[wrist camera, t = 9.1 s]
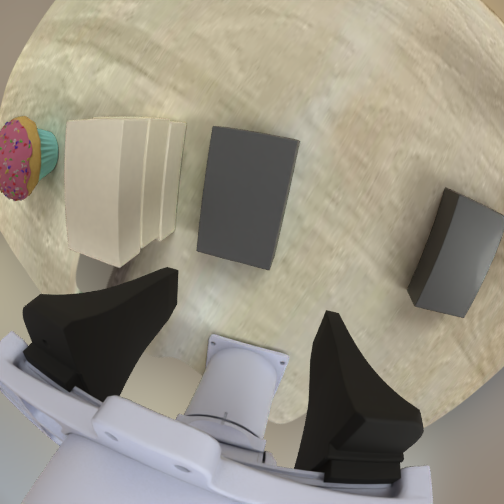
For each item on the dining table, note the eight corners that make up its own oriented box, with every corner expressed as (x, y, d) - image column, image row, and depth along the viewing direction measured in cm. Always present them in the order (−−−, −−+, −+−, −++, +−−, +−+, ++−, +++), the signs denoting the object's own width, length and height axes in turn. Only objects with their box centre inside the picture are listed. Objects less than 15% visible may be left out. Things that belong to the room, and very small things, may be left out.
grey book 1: (274, 256, 22) (269, 270, 20) (208, 239, 23) (196, 251, 20) (299, 140, 18) (298, 140, 16) (224, 127, 19) (212, 125, 16)
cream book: (140, 252, 18) (119, 268, 16) (89, 236, 19) (68, 249, 17) (148, 119, 15) (123, 119, 12) (91, 118, 15) (66, 120, 13)
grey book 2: (454, 302, 20) (463, 318, 18) (406, 290, 20) (414, 306, 18) (492, 209, 16) (508, 218, 14) (445, 187, 17) (459, 194, 14)
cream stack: (175, 231, 23) (143, 254, 18) (123, 217, 24) (88, 237, 19) (187, 120, 19) (152, 117, 15) (130, 116, 20) (90, 117, 15)
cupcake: (71, 188, 24) (-24, 227, 13) (31, 189, 25) (-46, 222, 14) (68, 107, 20) (-33, 119, 9) (28, 121, 22) (-54, 138, 11)
